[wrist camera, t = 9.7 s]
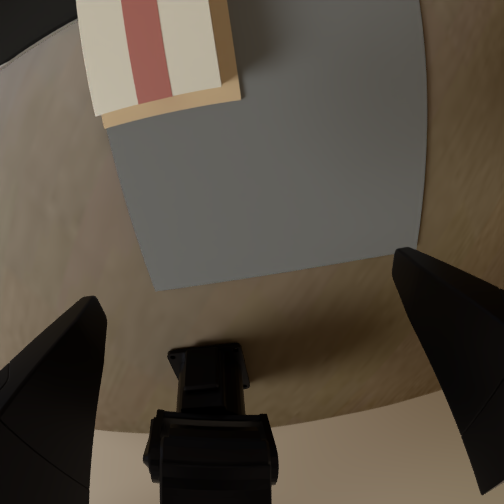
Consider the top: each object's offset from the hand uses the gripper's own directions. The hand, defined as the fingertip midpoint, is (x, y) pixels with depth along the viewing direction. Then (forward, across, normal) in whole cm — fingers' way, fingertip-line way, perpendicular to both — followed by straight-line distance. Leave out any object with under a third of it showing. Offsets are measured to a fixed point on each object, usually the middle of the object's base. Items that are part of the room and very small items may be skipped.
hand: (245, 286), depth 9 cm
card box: (+11, +3, -10) cm, 15 cm away
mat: (+12, -3, -5) cm, 13 cm away
